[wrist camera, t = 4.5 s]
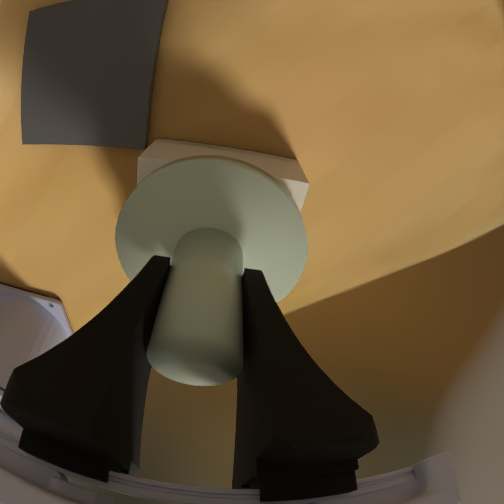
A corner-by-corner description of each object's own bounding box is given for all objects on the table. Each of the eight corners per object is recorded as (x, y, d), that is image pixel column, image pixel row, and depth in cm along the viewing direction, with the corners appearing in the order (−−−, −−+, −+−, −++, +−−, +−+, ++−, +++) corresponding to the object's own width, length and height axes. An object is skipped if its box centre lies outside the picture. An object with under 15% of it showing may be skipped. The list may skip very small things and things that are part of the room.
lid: (132, 300, 15) (103, 397, 10) (113, 150, 10) (26, 237, 5) (284, 314, 15) (295, 416, 11) (324, 169, 11) (383, 270, 6)
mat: (26, 142, 12) (22, 144, 12) (34, 11, 8) (29, 11, 7) (146, 146, 13) (144, 149, 13) (169, -8, 9) (167, -9, 9)
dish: (152, 252, 17) (139, 286, 15) (157, 138, 13) (137, 157, 11) (266, 268, 18) (270, 304, 16) (297, 160, 14) (309, 183, 12)
